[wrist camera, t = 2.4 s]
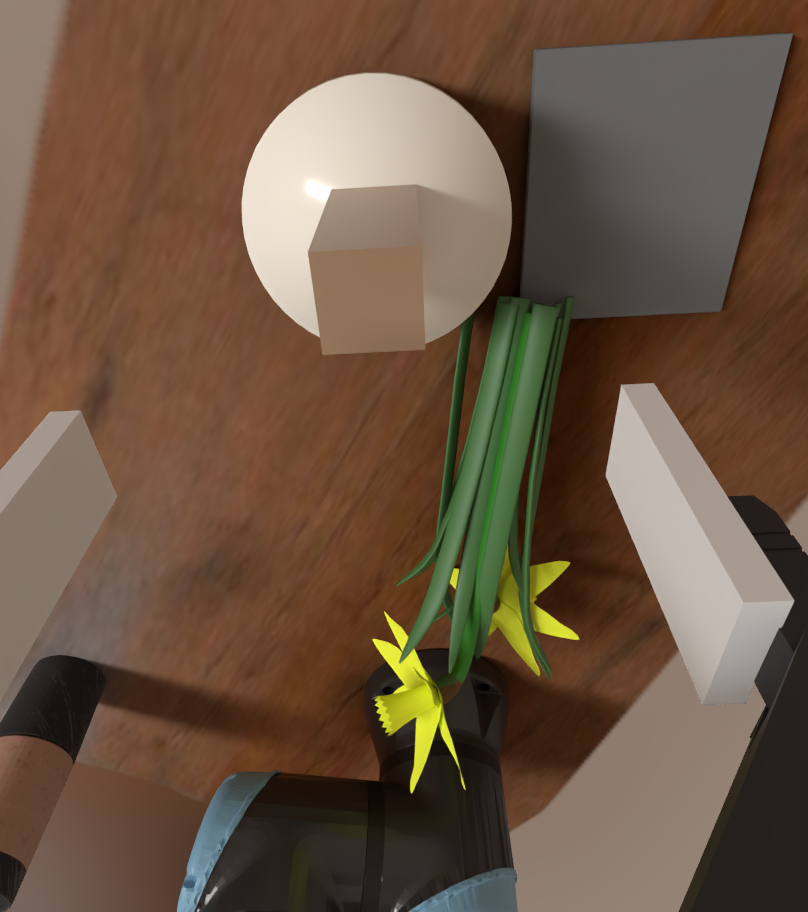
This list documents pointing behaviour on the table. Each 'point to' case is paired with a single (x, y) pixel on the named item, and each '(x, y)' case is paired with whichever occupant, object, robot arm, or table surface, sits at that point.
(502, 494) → the daffodil flowers
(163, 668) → the table surface
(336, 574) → the table surface
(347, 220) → the lid
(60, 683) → the travel mug
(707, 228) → the mat
